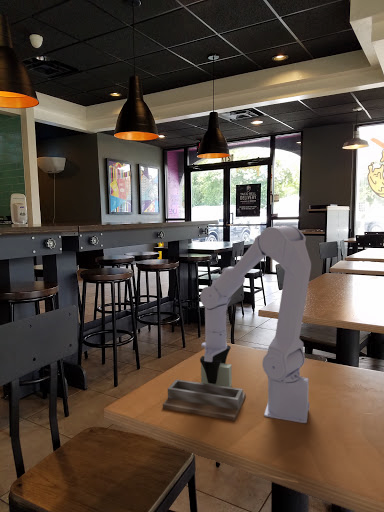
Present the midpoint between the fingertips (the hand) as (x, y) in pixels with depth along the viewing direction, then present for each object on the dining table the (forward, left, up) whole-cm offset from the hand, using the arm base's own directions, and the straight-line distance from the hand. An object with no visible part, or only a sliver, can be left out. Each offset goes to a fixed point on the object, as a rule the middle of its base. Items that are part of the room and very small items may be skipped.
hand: (216, 377), depth 102 cm
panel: (0, 0, -2) cm, 2 cm away
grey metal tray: (0, +10, -2) cm, 10 cm away
